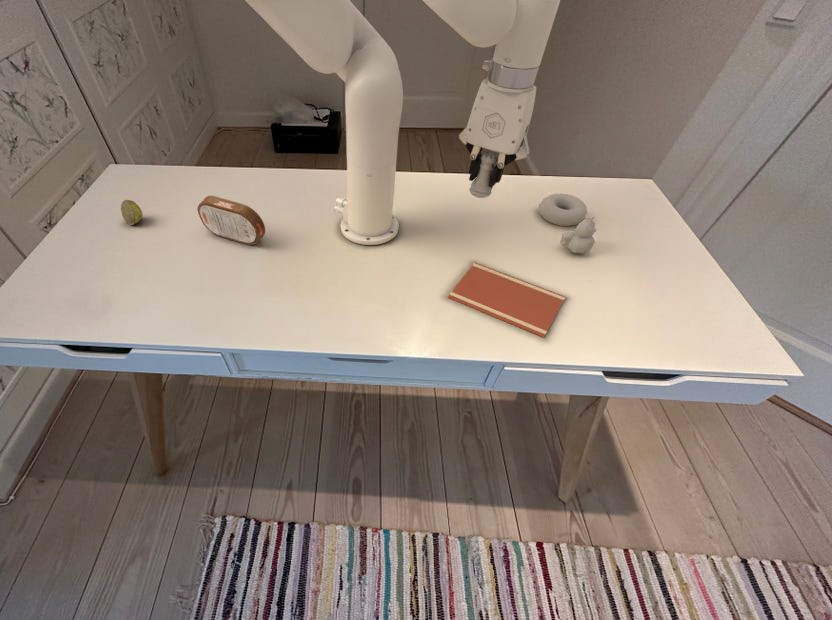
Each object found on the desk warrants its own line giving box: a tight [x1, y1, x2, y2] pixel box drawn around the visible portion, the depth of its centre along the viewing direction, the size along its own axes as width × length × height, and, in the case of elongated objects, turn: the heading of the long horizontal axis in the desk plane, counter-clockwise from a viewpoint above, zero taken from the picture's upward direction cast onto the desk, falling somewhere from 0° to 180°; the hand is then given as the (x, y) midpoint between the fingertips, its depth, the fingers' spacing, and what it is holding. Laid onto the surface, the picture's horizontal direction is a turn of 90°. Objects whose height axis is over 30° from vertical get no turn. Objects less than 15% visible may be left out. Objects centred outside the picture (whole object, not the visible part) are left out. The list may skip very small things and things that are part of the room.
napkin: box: [447, 262, 566, 339], centre depth 78 cm, size 18×12×1 cm, turn 56°
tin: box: [197, 195, 266, 246], centre depth 87 cm, size 15×3×8 cm, turn 65°
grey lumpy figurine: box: [559, 216, 597, 254], centre depth 84 cm, size 5×7×8 cm
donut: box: [538, 193, 588, 227], centre depth 93 cm, size 10×4×10 cm
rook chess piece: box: [469, 149, 499, 199], centre depth 82 cm, size 4×4×8 cm
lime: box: [120, 199, 144, 226], centre depth 92 cm, size 4×5×5 cm
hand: (483, 180), depth 83 cm, fingers closed on rook chess piece, 3 cm apart
